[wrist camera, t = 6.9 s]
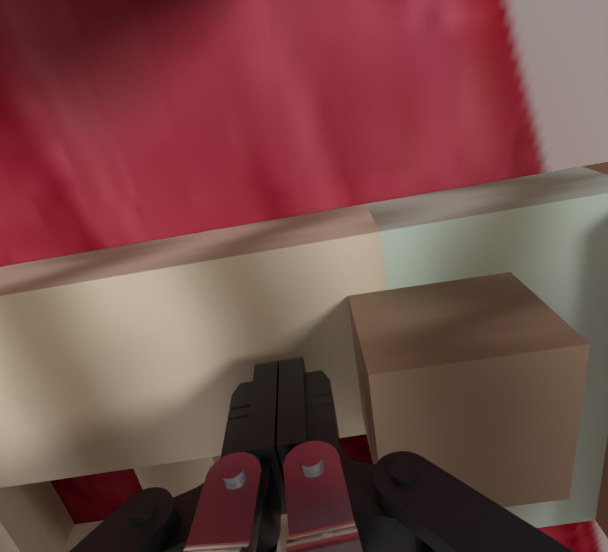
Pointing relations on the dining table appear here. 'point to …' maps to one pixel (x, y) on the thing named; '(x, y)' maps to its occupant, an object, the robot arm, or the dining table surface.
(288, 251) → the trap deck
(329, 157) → the dining table surface
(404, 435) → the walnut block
